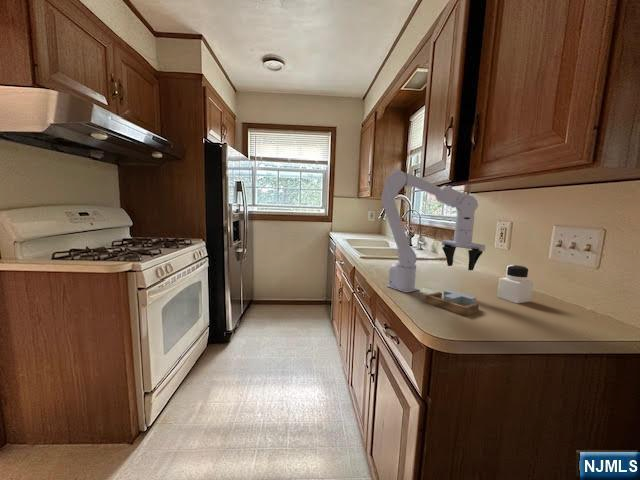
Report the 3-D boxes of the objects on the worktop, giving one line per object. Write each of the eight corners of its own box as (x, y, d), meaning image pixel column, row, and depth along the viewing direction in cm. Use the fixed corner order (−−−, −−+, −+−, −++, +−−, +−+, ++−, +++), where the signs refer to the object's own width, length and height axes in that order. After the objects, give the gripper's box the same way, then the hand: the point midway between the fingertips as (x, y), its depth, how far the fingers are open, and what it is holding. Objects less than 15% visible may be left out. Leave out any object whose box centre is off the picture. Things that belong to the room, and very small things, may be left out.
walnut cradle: (425, 302, 89) (426, 295, 89) (438, 298, 93) (438, 292, 93) (465, 316, 78) (466, 308, 78) (478, 311, 82) (479, 304, 82)
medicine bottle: (530, 301, 94) (535, 267, 92) (517, 303, 91) (521, 268, 90) (510, 295, 100) (513, 263, 99) (496, 297, 98) (500, 264, 96)
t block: (434, 303, 88) (435, 292, 88) (448, 299, 93) (449, 289, 92) (461, 312, 81) (462, 301, 81) (475, 308, 85) (476, 297, 85)
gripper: (491, 231, 92) (486, 270, 94) (450, 228, 104) (447, 263, 106) (480, 232, 89) (476, 273, 90) (439, 228, 100) (436, 264, 102)
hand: (460, 267), depth 98 cm, fingers open, 7 cm apart
